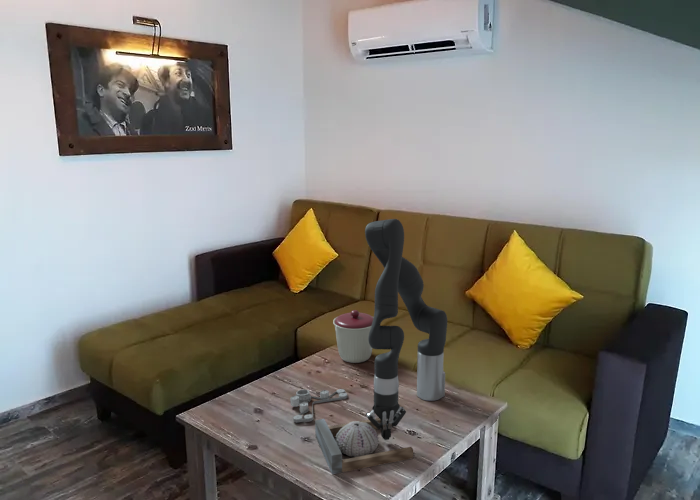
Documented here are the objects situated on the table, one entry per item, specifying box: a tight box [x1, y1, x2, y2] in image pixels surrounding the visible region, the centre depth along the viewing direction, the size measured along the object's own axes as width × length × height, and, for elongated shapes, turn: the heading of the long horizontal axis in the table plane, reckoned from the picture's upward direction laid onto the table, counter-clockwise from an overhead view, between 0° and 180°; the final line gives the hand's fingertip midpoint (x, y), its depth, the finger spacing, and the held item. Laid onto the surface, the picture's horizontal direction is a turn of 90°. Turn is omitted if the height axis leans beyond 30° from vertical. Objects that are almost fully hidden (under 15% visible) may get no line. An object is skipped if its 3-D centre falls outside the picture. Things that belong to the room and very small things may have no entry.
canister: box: [332, 309, 374, 364], centre depth 236 cm, size 18×18×21 cm
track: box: [314, 417, 414, 475], centre depth 174 cm, size 25×20×6 cm
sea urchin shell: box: [334, 420, 380, 458], centre depth 174 cm, size 13×14×8 cm
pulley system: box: [289, 388, 348, 424], centre depth 201 cm, size 27×5×15 cm
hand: (385, 438), depth 177 cm, fingers closed
